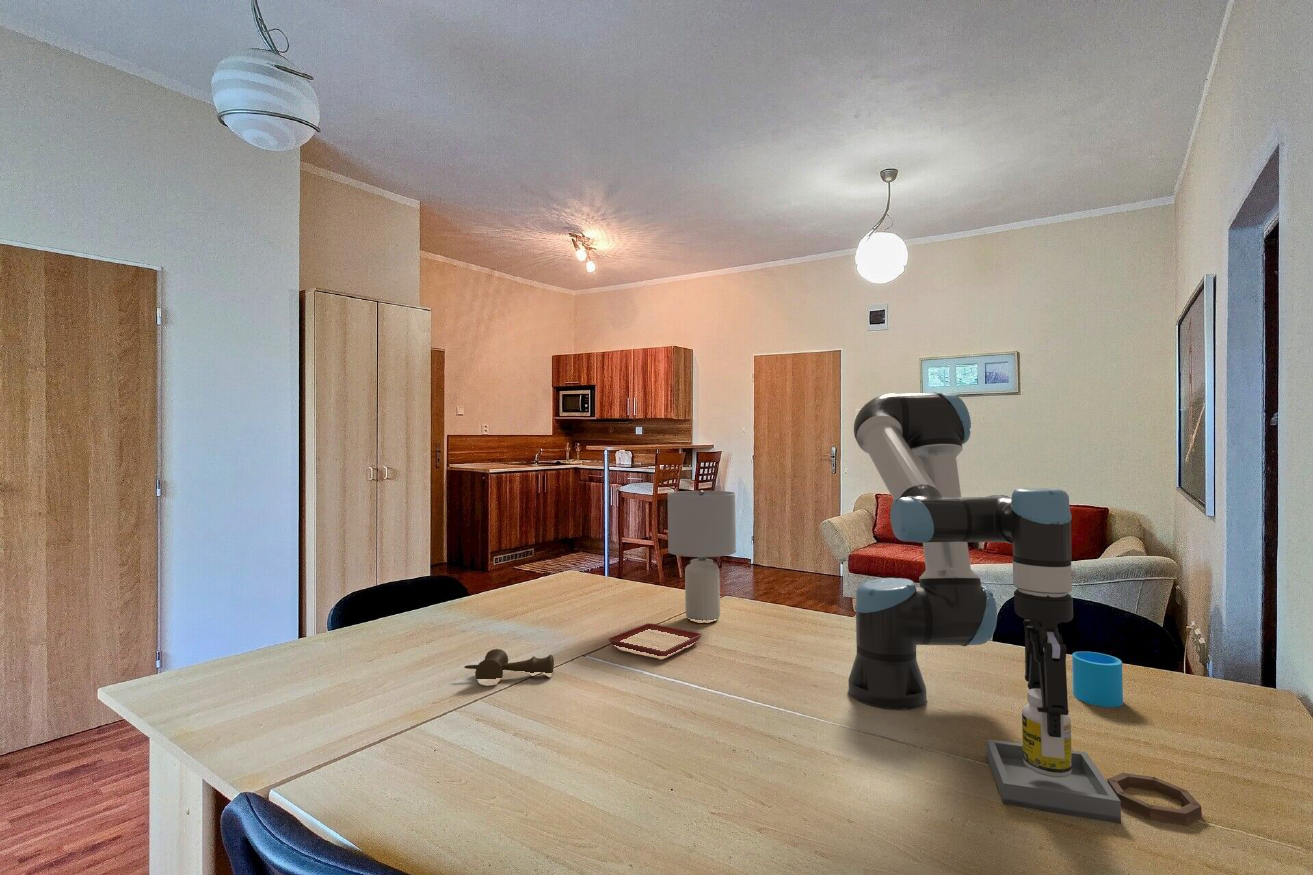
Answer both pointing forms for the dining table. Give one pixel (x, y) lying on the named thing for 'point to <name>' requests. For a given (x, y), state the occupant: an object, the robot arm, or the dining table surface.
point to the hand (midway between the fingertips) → (1046, 745)
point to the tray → (1052, 785)
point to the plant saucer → (679, 632)
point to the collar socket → (1154, 812)
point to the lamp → (702, 544)
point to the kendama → (509, 665)
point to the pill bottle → (1033, 740)
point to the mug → (1097, 679)
